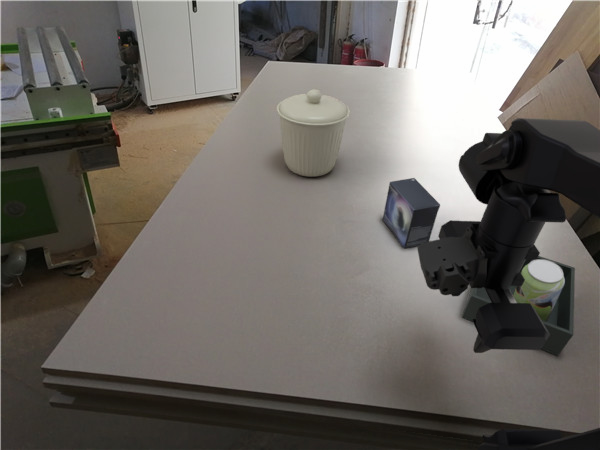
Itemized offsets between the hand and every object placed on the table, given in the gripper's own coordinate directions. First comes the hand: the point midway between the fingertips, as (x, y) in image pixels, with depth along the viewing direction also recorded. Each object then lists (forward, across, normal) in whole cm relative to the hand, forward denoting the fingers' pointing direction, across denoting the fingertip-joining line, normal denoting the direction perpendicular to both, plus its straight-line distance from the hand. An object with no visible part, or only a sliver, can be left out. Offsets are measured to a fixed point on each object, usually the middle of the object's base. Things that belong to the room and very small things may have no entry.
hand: (465, 321), depth 53 cm
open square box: (+13, -15, +18) cm, 27 cm away
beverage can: (+13, -11, +18) cm, 24 cm away
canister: (+13, -62, -18) cm, 66 cm away
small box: (+13, -35, +2) cm, 37 cm away
